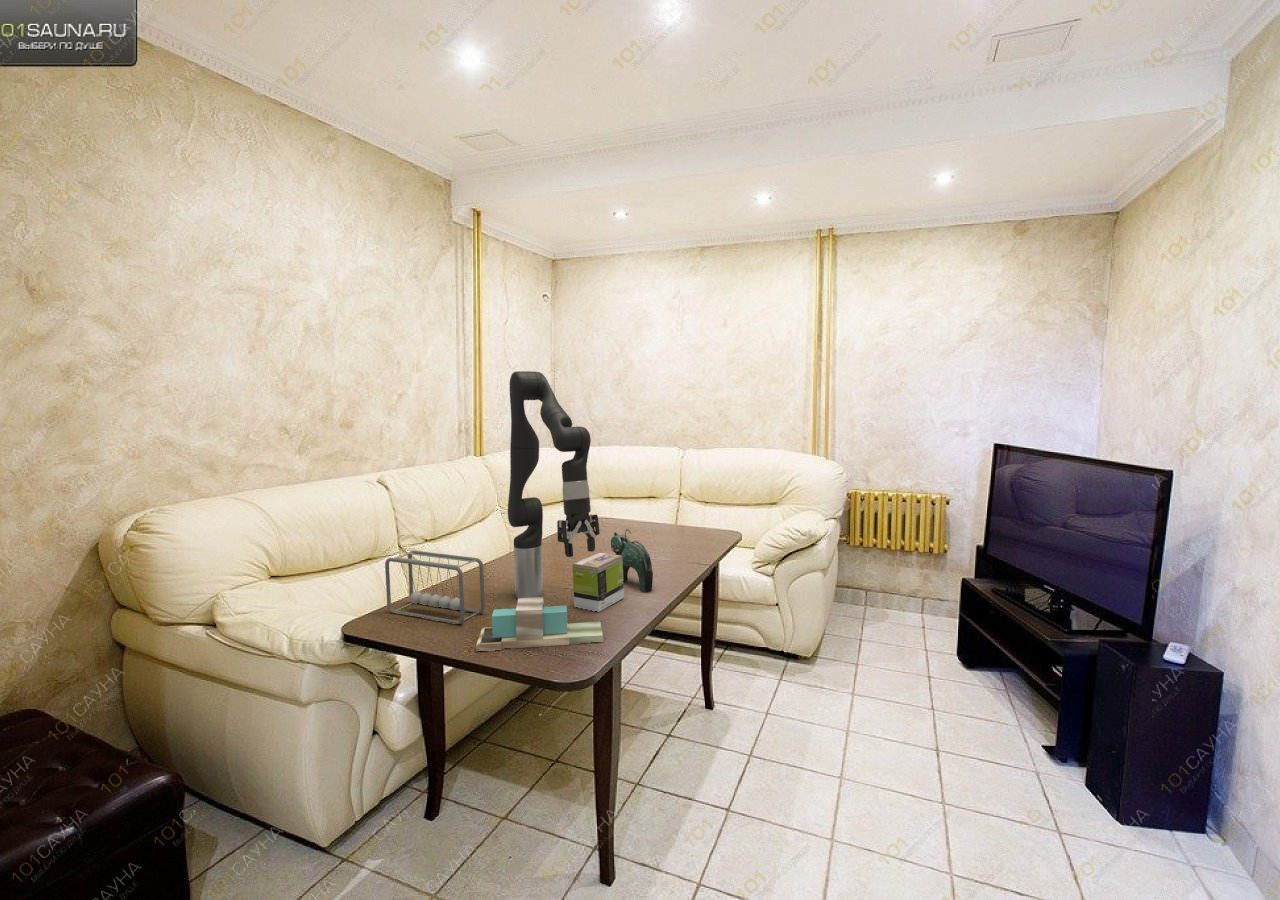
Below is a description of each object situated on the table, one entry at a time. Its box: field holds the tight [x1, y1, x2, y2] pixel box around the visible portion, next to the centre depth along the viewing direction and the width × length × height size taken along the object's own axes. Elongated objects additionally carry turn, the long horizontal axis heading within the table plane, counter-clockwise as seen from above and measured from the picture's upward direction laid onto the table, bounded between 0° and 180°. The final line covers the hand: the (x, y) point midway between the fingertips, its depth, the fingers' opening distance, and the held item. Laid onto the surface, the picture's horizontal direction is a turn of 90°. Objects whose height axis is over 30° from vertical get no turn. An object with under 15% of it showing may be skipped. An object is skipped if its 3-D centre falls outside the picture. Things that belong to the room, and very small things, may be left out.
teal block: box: [491, 605, 568, 638], centre depth 161 cm, size 5×20×6 cm, turn 98°
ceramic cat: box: [610, 528, 654, 593], centre depth 206 cm, size 20×6×20 cm, turn 37°
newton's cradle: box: [384, 549, 486, 625], centre depth 181 cm, size 30×10×18 cm, turn 67°
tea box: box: [572, 552, 625, 613], centre depth 189 cm, size 15×10×15 cm
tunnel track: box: [475, 596, 604, 652], centre depth 161 cm, size 12×33×10 cm, turn 98°
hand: (580, 554), depth 165 cm, fingers open, 8 cm apart
